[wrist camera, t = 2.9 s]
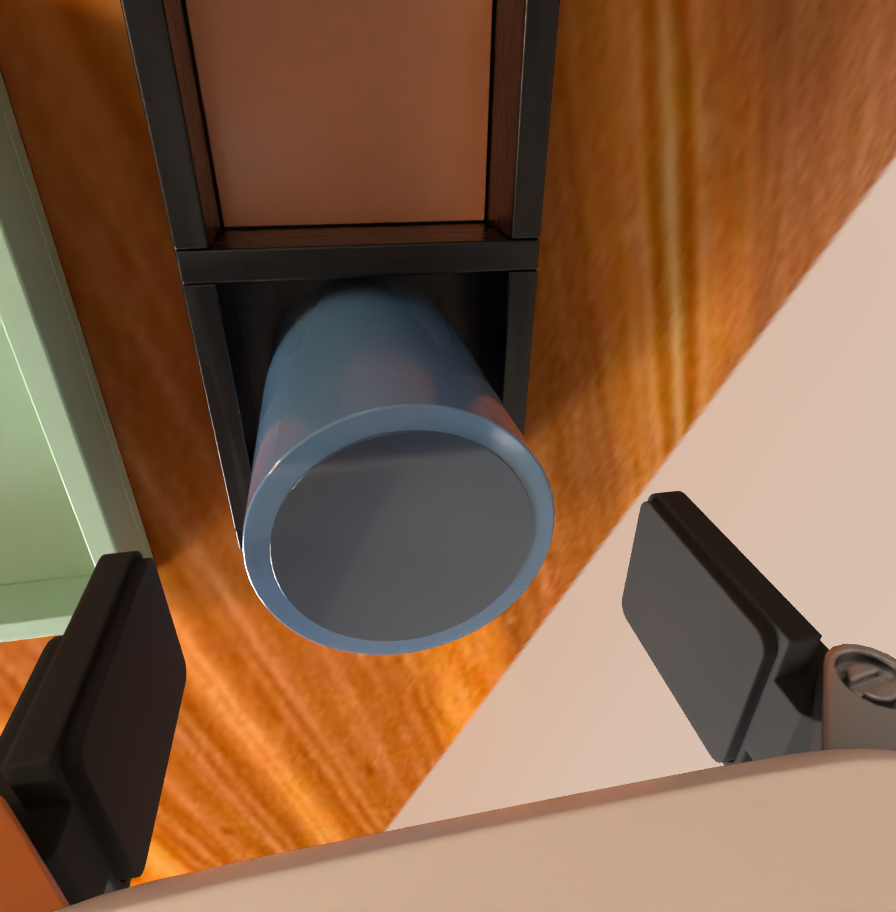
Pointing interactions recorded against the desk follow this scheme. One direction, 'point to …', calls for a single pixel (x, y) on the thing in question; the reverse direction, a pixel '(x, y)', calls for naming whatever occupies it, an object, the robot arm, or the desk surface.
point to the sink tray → (49, 424)
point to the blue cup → (387, 477)
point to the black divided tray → (346, 172)
